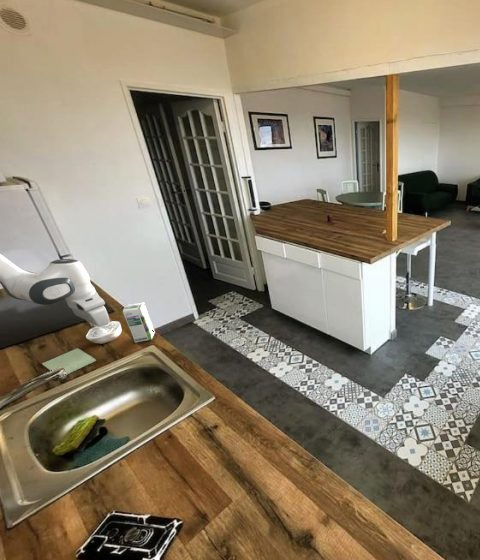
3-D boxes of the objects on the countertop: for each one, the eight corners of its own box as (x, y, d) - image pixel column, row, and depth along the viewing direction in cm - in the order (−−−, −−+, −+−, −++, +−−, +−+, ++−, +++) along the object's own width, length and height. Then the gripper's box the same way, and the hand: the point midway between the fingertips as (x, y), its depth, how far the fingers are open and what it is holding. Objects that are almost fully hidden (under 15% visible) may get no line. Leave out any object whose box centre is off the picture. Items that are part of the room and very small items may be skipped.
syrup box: (134, 343, 121) (121, 311, 114) (138, 335, 125) (126, 304, 119) (152, 340, 123) (140, 308, 117) (155, 332, 128) (144, 301, 121)
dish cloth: (59, 377, 103) (59, 377, 103) (42, 364, 109) (41, 363, 109) (96, 360, 111) (96, 359, 111) (78, 348, 117) (77, 348, 117)
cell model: (131, 330, 128) (126, 316, 125) (112, 348, 118) (105, 333, 115) (104, 331, 127) (98, 317, 124) (82, 349, 116) (75, 335, 113)
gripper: (58, 296, 119) (74, 325, 125) (85, 309, 111) (100, 340, 117) (79, 289, 125) (93, 318, 131) (106, 301, 117) (119, 331, 123)
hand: (96, 328), depth 124 cm, fingers closed
